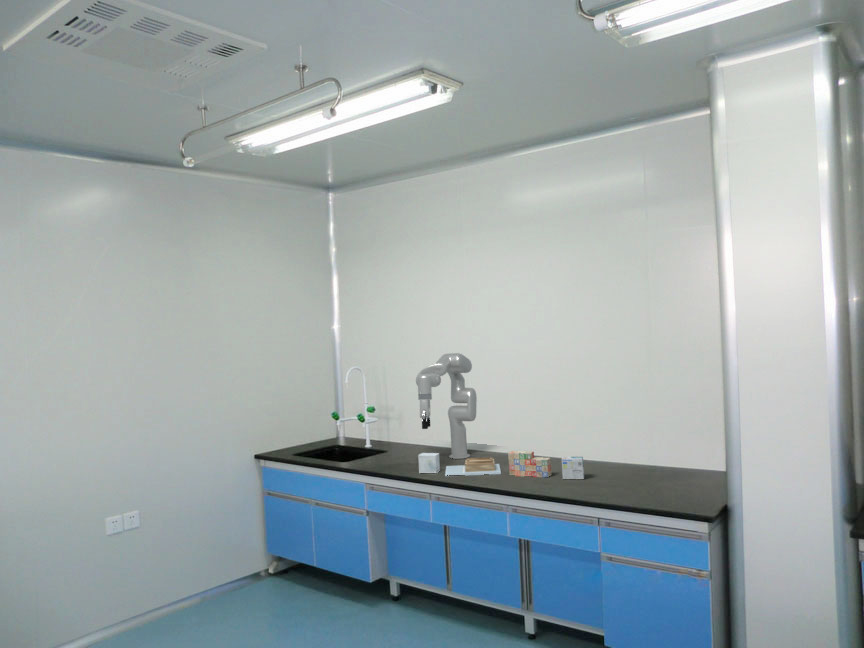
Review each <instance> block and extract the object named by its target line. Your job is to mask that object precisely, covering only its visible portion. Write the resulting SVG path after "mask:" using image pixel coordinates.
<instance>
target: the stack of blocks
mask: <svg viewBox="0 0 864 648" xmlns="http://www.w3.org/2000/svg"><path fill="white" fill-rule="evenodd" d="M507 455H508V457H507V458H508V468H509V469H508V470H509V476H510V475H515V476H514V477H524V476H533V477H532V478H545V477H548V478H549V476H550V477H551V476H552V459H551V457H543V456H541V457H539V456H537V457H536V456H535V452H534V451H528V450H520V451H519V450H511V451H509V452H508V454H507Z"/></svg>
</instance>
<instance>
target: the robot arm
mask: <svg viewBox="0 0 864 648" xmlns="http://www.w3.org/2000/svg"><path fill="white" fill-rule="evenodd" d="M472 368H473V364H472V361H471V360H470V359H469V358H468V357H466V356H465V355H464V354H462V353H459V352H457V353H455V352H454V353H453V352H452V353H451V352H450V353H444V354H442V355H441V357H440V358H439V359H438V360H437V361H436V362H435V363H434V364H431V365H429V366H426V367H425V368H423V369H421V370H420V371H419V372H418V374H417V375H416V378H415V384H416V386H417V395H418V396H417V399H418V400H419V418H421V429H422V430H427V429H428V428H429V427H431V400H433V395H432V394H433V392H432V388H436V387H438V386H439V385H441V383H442V378H441V377H443V376H444V375H446V374H447V375H448V376H449V379H450V400H451V403H454V404H456V405H452V406H450V407H448V409H447V416H448V420H449V428H450V445H451V449H450V450H451V454H450V455H449V456H448V457H449V459H452V458H453V460H459V459H460V460H461V459H462V460H463V459H467V458H470V456H471V454H470V453H468V445H467V444H468V442H467V427H466V426H465V424H464V422H474V421H475V420H476V418H477V401H478V400H477V393H476V390H475V389H474V388H473V387H465V386H466V382H465V377H464V376H463V374H468V373H470V372H471V370H472ZM457 404H460V405H457ZM461 404H467V405H461Z"/></svg>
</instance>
